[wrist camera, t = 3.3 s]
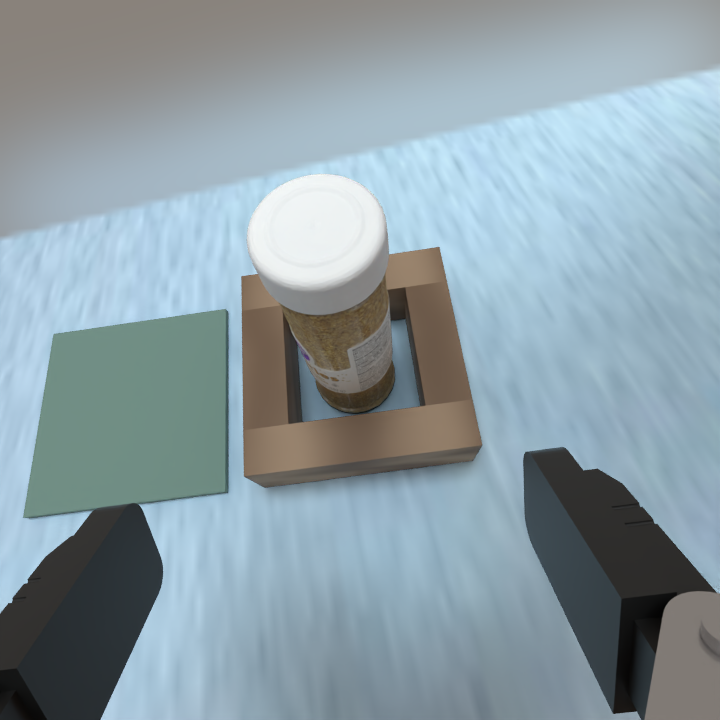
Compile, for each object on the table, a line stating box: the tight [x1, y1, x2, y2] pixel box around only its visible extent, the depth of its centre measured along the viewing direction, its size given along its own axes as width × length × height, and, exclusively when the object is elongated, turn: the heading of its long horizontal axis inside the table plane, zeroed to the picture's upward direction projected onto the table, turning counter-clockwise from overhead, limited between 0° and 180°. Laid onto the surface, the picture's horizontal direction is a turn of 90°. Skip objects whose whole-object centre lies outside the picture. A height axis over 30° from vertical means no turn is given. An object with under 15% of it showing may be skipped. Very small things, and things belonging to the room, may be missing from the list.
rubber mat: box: [23, 309, 228, 518], centre depth 28 cm, size 11×11×1 cm
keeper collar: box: [241, 247, 482, 488], centre depth 26 cm, size 11×11×4 cm
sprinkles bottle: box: [247, 174, 395, 413], centre depth 21 cm, size 5×5×14 cm
